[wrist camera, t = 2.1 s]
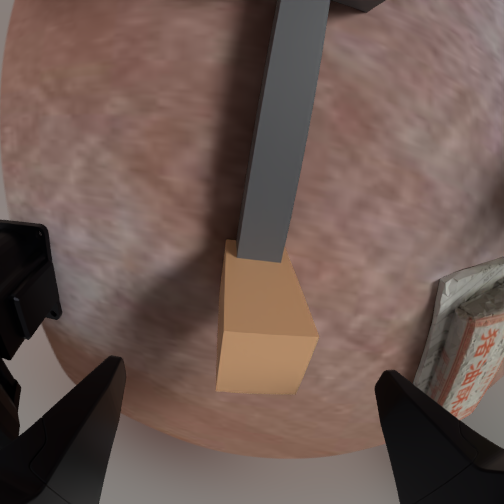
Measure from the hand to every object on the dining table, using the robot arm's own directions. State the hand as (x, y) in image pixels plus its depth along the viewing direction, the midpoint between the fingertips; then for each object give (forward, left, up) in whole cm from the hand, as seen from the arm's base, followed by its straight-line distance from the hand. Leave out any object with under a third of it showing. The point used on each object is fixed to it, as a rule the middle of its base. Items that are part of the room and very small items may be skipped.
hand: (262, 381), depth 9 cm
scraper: (0, +7, -8) cm, 10 cm away
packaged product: (+21, -6, -8) cm, 23 cm away
